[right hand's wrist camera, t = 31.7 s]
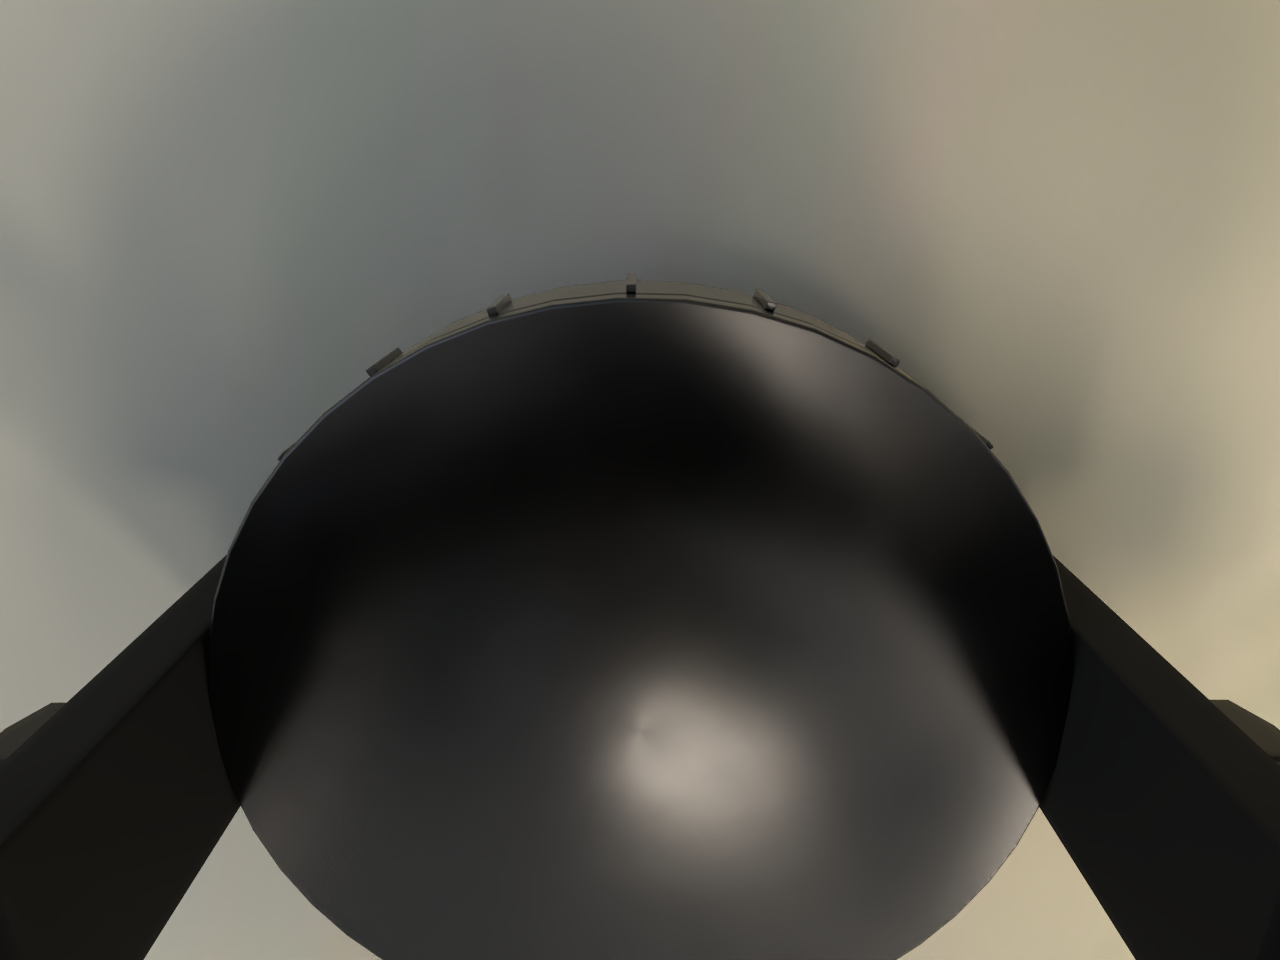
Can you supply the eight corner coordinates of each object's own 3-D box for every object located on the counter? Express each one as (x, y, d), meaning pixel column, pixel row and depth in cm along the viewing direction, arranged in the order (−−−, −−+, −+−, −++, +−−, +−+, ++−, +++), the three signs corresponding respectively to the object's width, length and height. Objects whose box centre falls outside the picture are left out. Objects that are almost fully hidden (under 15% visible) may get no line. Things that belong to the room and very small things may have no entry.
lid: (946, 151, 10) (1003, 146, 8) (1067, 856, 13) (1122, 943, 12) (111, 420, 11) (26, 461, 9) (435, 1002, 14) (411, 1099, 13)
